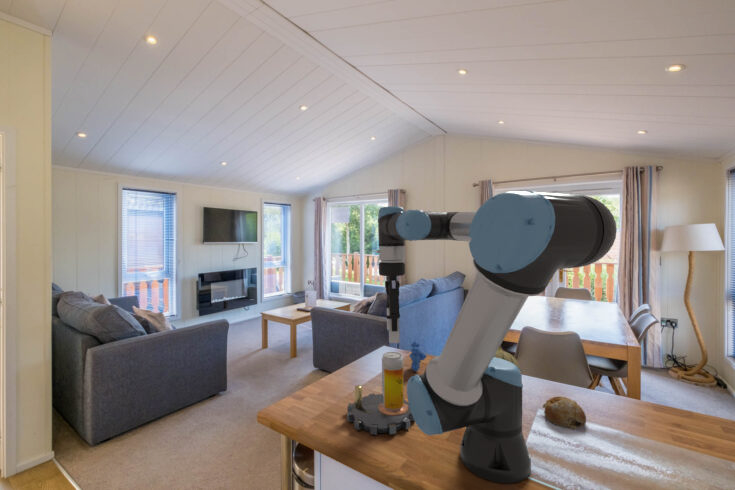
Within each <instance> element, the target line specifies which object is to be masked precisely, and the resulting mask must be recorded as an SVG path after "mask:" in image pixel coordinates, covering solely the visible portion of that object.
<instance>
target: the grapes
mask: <svg viewBox="0 0 735 490" xmlns="http://www.w3.org/2000/svg"><path fill="white" fill-rule="evenodd" d="M410 346H411V350H410V354H409V355H408V356H409V358H410V360H411V362H412V363H411V364H410V367H411V369H412V370H413V372H418V371H419V370H420V368H421V367H420V365H421V361H424V360H425V359H427V354H426V353H424V352H421V349H420V348H419V347H420V343H419V342H418V341H417V340H415V341H413V342H412V343H411V344H410Z"/></svg>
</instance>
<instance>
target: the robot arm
mask: <svg viewBox="0 0 735 490" xmlns="http://www.w3.org/2000/svg"><path fill="white" fill-rule="evenodd" d="M377 215H378V218H377V223H378V225H377V228H378V229H377V232H378V233H377V234H378V237H377V238H378V249H376V253H377V254H378V260H379V261H380V262H379V263H378V275H380V276H382V277H386V278H385V279H386V281H384V287H385V293H386V307H387V308H386V330H387V331H388V343H389V344H400V342H401V341H400V340H401V339H400V317H401V314H400V298H399V297H400V286H401V285H400V281H399V280H398V279H397V277H402V276H405V275H406V263H405V262H404V261H405V260H406V245H405V244H406V241H410V242H411V241H415V242H416V241H436V240H437V241H438V240H439V241H457V242H458V241H459V242H468V246H469V248H468V249H469V251H470V253H471V256H472V258H473V260H472V263H473V267H474V268H475V270H476V272H477V273H476V275H475V276H474V277H475V278H474V279H473V282H472V283H471V286H470V289H469V291H468V292H467V295H466V297H465V300H464V301H463V304H462V306H461V308H460V310H459V313H458V315H457V317H456V320H455V322H454V323H453V326H452V328H451V330H450V332H449V335H448V337H447V340H446V342H445V343H444V347H442V351H441V353H440V355H437V356H435V357H432V359H430V361H429V362H428V363H427V366H426V367H425V369H424V372H423V373H422V374H414V375H413V376H411V377H410V378H409V379H408V380H407V383H406V395H407V396H406V397H407V403H409V406H410V410H411V413H412V416H413V418H414V420H415V421H414V422H415V424H416V426H417V427H418V428H419V430H420V431H421V432H422V433H423V434H425V435H427V436H435V435H443V434H445V433H448V432H452V431H457V430H460V429H465V430H464V433H463V436H462V438H461V442H460V450H459V451H460V459H461V462H462V463H463V465H464V466H465V467H466V469H468V470H469V471H470V472H471V473H473V474H475V475H476V476H478V477H479V478H482V479H484V480H487V481H490V482H494V483H499V484H515V483H516V484H517V483H520V482H521V481H524V480H526V479H527V478H528V477H529V476H530V474H531V472H532V459H531V454H530V452H529V449H528V447H527V443H526V440H525V436H524V433H523V387H524V385H523V381H522V377H523V376H522V377H521V372H522V370H521V371H520V369H519V368H518V367H517V366H516V365H515V364H513V363H511V362H509V361H506V360H504V359H500V358H496V357H494V355H495V354H496V352H497V350H498V348H499V347H500V348H501V345H502V343H503V341H504V340H505V337H507V334H508V333H509V331H510V329H511V327H512V326H513V323H514V322H515V320H516V319H517V317H518V315H519V314H520V312H521V310H522V308H523V306H524V305H525V303H526V301H527V300H528V297H535V296H540V295H542V293H544V292H545V291H546V289H547V287H548V285H549V284H550V282H551V280H552V279H553V277H554V276H555V273H556V272H557V271H558V270H560V269H561V270H562V269H563V270H564V269H574V268H582V267H586V266H590V265H592V264H594V263H596V262H598V261H599V260H601V259H602V258H604V257H605V256H606V255H607V254H608V253H609V251H611V248H612V247H613V246H614V243H615V241H616V237H617V222H616V219H615V217H614V215H613V212H611V210H610V209H609V208H608V206H606V205H605V204H604V203H602V202H601V201H599V200H598V199H596V198H595V197H594V198H593V197H591V196H587V195H584V194H576V193H555V192H554V193H553V192H538V191H535V190H529V189H527V190H517V191H505V192H501V193H497V194H496V195H492V196H491V197H490V198H488V199H487V200H485V201H484V202H483V203H482V204H481V205H480V207H479V208H478V209H477V210H476V211H474V210H473V211H423V210H421V209H408V210H405V209H404V208H403V207H402V206H396V205H395V206H394V205H393V206H382V207H380V208H378V214H377Z"/></svg>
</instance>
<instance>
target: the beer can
mask: <svg viewBox="0 0 735 490" xmlns="http://www.w3.org/2000/svg"><path fill="white" fill-rule="evenodd" d="M381 387H382V388H381V394H382V405H383V406H384V408H385V409H386V410H389V411H398V410H400V409H401V408H402V407H403V405H404V399H403V397H404V357H403V356H402V353H400V352H397V351H389V352H384V353H383V354H382V357H381Z"/></svg>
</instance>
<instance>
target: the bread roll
mask: <svg viewBox="0 0 735 490" xmlns="http://www.w3.org/2000/svg"><path fill="white" fill-rule="evenodd" d="M542 408H544V412H543V413H544V416H545V418H546V419H547V420H548V419H549V420H548V421H549V422H550V423H552V424H555V425H557V426H559V427H562V428H565V429H571V430H577V429H579V428H581V427H584V426H585V425H586V423H587V415H586V413H585V411H584V410H583V408H582V407H581V406H580V405H579V404H578V403H577V401H576V400H573V399H571V398H568V397H565V396H553V397H550V398H549V399H547V400H546V401H545V403H544V404H543V405H542Z"/></svg>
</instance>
